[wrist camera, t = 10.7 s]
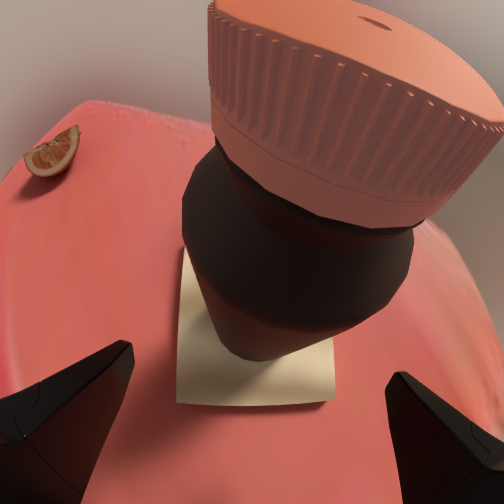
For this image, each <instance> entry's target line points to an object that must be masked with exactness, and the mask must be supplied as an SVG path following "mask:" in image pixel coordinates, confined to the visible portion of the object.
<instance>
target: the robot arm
mask: <svg viewBox="0 0 504 504" xmlns="http://www.w3.org/2000/svg"><path fill="white" fill-rule="evenodd" d="M134 365H135V359H134V353H133V346H132V343H131V342H128V341H124V340H118V341H116V342H114V343H112V344H111V345H109V346H107V347H105V348H103V349H101V350H99V351H97V352H96V353H94V354H92V355H90V356H88V357H86V358H84V359H82V360H80V361H78V362H77V363H75V364H73V365H71V366H69V367H67V368H65V369H63V370H61V371H59V372H57V373H56V374H54V375H52V376H50V377H48V378H46V379H44V380H42V381H41V382H38V383H36V384H34V385H32V386H30V387H28V388H26V389H24V390H22V391H19V392H17V393H15V394H12V395H10V396H7V397H4V398H2V399H0V504H81V501H82V498H83V497H82V496H83V495H84V492H85V490H86V487H87V485H88V482H89V479H90V477H91V474H92V472H93V469H94V467H95V464H96V462H97V459H98V457H99V455H100V452H101V450H102V448H103V445H104V443H105V440H106V438H107V436H108V434H109V431H110V429H111V427H112V424H113V422H114V420H115V418H116V416H117V413H118V411H119V409H120V407H121V404H122V402H123V399H124V396H125V393H126V390H127V386H128V383H129V380H130V377H131V374H132V371H133V368H134ZM385 398H386V405H387V413H388V421H389V428H390V433H391V438H392V443H393V447H394V452H395V457H396V463H397V468H398V474H399V480H400V486H401V493H402V500H403V504H504V442H502V441H500V440H499V439H497V438H495V437H494V436H492V435H491V434H489V433H488V432H486V431H484V430H483V429H482V428H480V427H479V426H478V425H476V424H475V423H474V422H472V421H471V420H469V419H468V418H467V417H465V416H464V415H463V414H462V413H460V412H459V411H458V410H456V409H455V408H454V407H452V406H451V405H450V404H448V403H447V402H446V401H444V400H443V399H442V398H440V397H439V396H438V395H436V394H435V393H434V392H432V391H431V390H430V389H428V388H427V387H426V386H424V385H423V384H422V383H420V382H419V381H418V380H416V379H415V378H414V377H412V376H411V375H410V374H409V373H407V372H405V371H398V372H395V373H394V374H393V376H392V378H391V379H390V381H389V383H388V384H387V386H386V388H385Z"/></svg>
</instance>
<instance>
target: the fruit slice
mask: <svg viewBox="0 0 504 504" xmlns="http://www.w3.org/2000/svg"><path fill="white" fill-rule="evenodd" d="M80 134H81V132H80V131H79V127H78V125H75V126H73V127H71V128H69V129H67V130H65V131H64V132H62V133H60V134H58V135H57V136H56V137H55V139H53V140H51V141H50V142H45V143H43V144H41V145H39V146H38V147H36V148H34V149H32V150H30V151H29V152H27V153H26V154H25V155H23V156H24V161H25V164H26V167H27V169H28V170H29V171H30V172H31V173H32V174H34V175H36V176H38V177H50V176H54V175H57V174H59V173H61V172H62V171H64V170H65V169H66V168H67V167H68V166H69V165H70V164H71V163H72V161H73V159H74V157H75V155H76V152H77V149H78V146H79V142H80Z"/></svg>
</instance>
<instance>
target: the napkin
mask: <svg viewBox="0 0 504 504" xmlns="http://www.w3.org/2000/svg"><path fill="white" fill-rule="evenodd" d="M329 400H335V371H334V350H333V337H330V338H328V339H326V340H323V341H321V342H318V343H316V344H313V345H311V346H309V347H306V348H303V349H301V350H298V351H296V352H293V353H290V354H288V355H285V356H282V357H280V358H277V359H274V360H270V361H263V362H254V361H249V360H244V359H242V358H240V357H238V356H236V355H234V354H233V353H231V352H230V351H229V350H228V349H227V348H226V347H225V346H224V345H223V344H222V343H221V341H220V339H219V337H218V335H217V333H216V330H215V328H214V325H213V323H212V320H211V317H210V315H209V312H208V309H207V307H206V304H205V301H204V298H203V296H202V293H201V290H200V287H199V284H198V282H197V279H196V276H195V273H194V270H193V267H192V264H191V261H190V258H189V255H188V252H187V249H186V246H185V250H184V260H183V270H182V281H181V294H180V307H179V323H178V343H177V372H176V403H185V404H198V405H219V406H266V405H286V404H300V403H311V402H321V401H329Z"/></svg>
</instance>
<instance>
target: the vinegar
mask: <svg viewBox="0 0 504 504" xmlns="http://www.w3.org/2000/svg"><path fill="white" fill-rule="evenodd" d="M208 71H209V72H208V74H209V85H210V93H211V117H212V118H211V119H212V131H213V132H214V134H215V144H216V145H215V146H214V147H213V148H212V149H211V150H210V151H209V152H208V153H207V154H206V155H205V156H204V157H203V158H202V160H201V161H200V162H199V163H198V164H197V165H196V166H195V169H194V171H193V173H192V176H191V178H190V180H189V183H188V185H187V188H186V190H185V193H184V195H183V197H182V237H183V240H184V243H185V246H186V249H187V252H188V255H189V258H190V261H191V264H192V267H193V270H194V273H195V276H196V279H197V282H198V284H199V287H200V290H201V293H202V296H203V298H204V301H205V304H206V307H207V309H208V312H209V315H210V317H211V320H212V323H213V325H214V328H215V330H216V333H217V335H218V337H219V339H220V341H221V343H222V344H223V345H224V346H225V347H226V348H227V349H228V350H229V351H230V352H231V353H233V354H234V355H236V356H238V357H240V358H242V359H244V360H249V361H254V362H263V361H270V360H274V359H277V358H280V357H282V356H285V355H288V354H290V353H293V352H296V351H298V350H301V349H303V348H306V347H309V346H311V345H313V344H316V343H318V342H321V341H323V340H326V339H328V338H330V337H333V336H335V335H337V334H339V333H342V332H344V331H346V330H348V329H351V328H353V327H354V326H356V325H358V324H359V323H361V322H363V321H364V320H366V319H367V318H369V317H370V316H372V315H374V314H375V313H377V312H378V311H380V310H381V309H383V308H384V307H385V306H386V305H387V304H388V303H389V302H390V300H391V299H392V297H393V296H394V294H395V293H396V292H397V290H398V289H399V287H400V286H401V284H402V283H403V281H404V280H405V278H406V276H407V274H408V270H409V265H410V261H411V256H412V252H413V247H414V236H413V228H415V227H416V226H418V225H420V224H421V223H422V222H423V221H424V220H425V219H426V218H427V217H429V216H431V215H433V214H434V213H436V212H437V211H438V210H439V209H440V208H441V207H442V206H443V205H444V204H445V203H446V202H447V201H448V200H449V199H450V198H451V197H452V196H453V195H454V194H455V193H456V192H457V190H458V189H459V188H460V187H461V186H462V184H463V183H464V182H465V181H466V180H467V179H468V177H469V176H470V175H471V174H472V173H473V172H474V171H475V169H476V168H477V167H478V166H479V165H480V164H481V162H482V161H483V160H484V159H485V158H486V156H487V155H488V154H489V153H490V151H491V150H492V149H493V148H494V146H495V145H496V144H497V142H498V141H499V140H500V139H501V137H502V136H503V135H504V107H503V106H502V104H501V102H500V100H499V99H498V97H497V95H496V94H495V92H494V91H493V90H492V89H491V87H490V86H489V85H488V84H487V83H486V82H485V80H484V79H483V78H482V77H481V76H480V75H479V74H478V73H477V72H476V71H475V70H474V69H473V68H472V67H470V65H468V64H467V63H466V62H465V61H464V60H463V59H461V58H460V57H459V56H458V55H457V54H455V53H454V52H452V51H451V50H450V49H449V48H447V47H446V46H444V45H443V44H442V43H440V42H439V41H437V40H436V39H434V38H433V37H431V36H430V35H428V34H426V33H424V32H423V31H421V30H419V29H417V28H416V27H414V26H412V25H410V24H408V23H406V22H404V21H402V20H400V19H398V18H396V17H394V16H391V15H389V14H387V13H385V12H382V11H380V10H377V9H375V8H372V7H369V6H367V5H364V4H361V3H357V2H354V1H351V0H214V2H211V4H210V5H209V6H208Z"/></svg>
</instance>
